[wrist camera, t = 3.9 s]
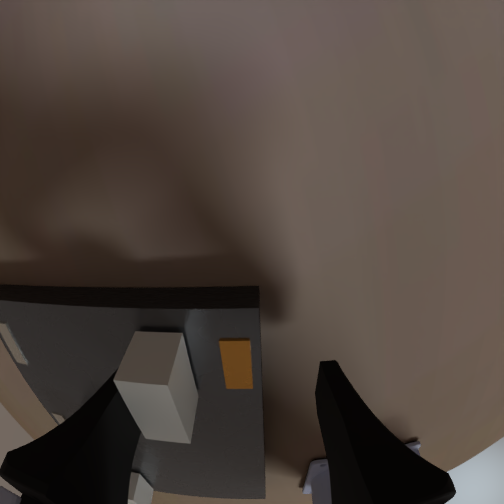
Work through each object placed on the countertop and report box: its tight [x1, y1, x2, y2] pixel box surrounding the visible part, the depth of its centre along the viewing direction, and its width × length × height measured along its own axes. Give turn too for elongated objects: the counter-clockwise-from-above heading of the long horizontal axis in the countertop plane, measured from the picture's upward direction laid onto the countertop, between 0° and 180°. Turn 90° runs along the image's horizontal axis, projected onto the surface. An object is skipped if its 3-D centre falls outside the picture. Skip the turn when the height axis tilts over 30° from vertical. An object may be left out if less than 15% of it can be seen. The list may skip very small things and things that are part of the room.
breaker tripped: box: [113, 331, 198, 444], centre depth 11 cm, size 2×4×3 cm, turn 3°
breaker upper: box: [128, 472, 154, 504], centre depth 18 cm, size 2×4×3 cm, turn 2°
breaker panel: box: [0, 285, 265, 499], centre depth 17 cm, size 15×22×2 cm
